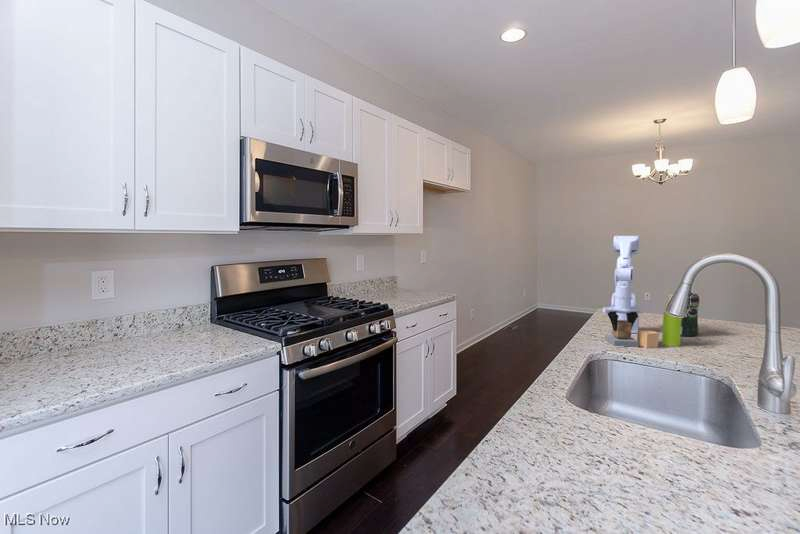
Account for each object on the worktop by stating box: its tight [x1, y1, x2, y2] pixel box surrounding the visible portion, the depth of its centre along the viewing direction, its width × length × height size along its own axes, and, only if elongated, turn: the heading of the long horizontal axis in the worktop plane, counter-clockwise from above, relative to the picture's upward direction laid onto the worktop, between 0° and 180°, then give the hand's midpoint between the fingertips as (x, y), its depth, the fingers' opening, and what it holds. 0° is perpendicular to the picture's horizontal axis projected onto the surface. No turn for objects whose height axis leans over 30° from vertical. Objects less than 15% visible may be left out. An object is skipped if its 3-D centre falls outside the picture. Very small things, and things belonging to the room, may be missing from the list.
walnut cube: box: [611, 320, 632, 338], centre depth 156 cm, size 5×5×6 cm
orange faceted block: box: [636, 329, 660, 349], centre depth 153 cm, size 5×5×6 cm
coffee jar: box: [680, 293, 700, 337], centre depth 169 cm, size 10×8×19 cm
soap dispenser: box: [661, 294, 681, 347], centre depth 155 cm, size 6×7×20 cm
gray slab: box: [604, 334, 640, 348], centre depth 156 cm, size 9×9×3 cm
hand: (621, 330), depth 156 cm, fingers closed on walnut cube, 5 cm apart
